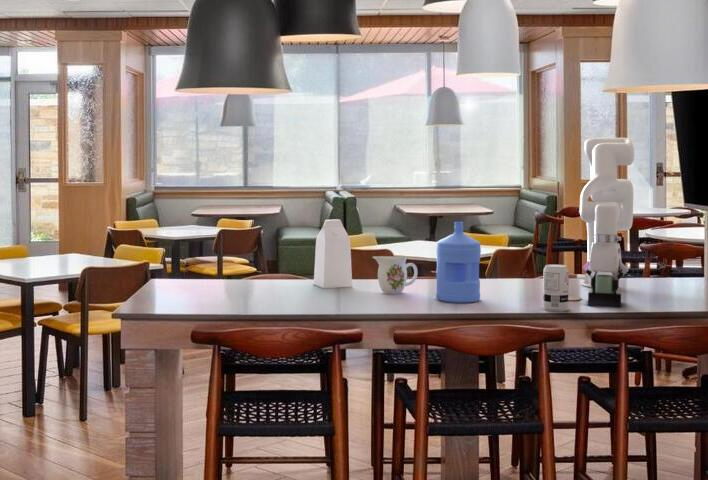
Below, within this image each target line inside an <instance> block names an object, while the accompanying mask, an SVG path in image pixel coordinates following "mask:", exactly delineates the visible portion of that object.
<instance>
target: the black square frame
mask: <svg viewBox="0 0 708 480" xmlns="http://www.w3.org/2000/svg"><path fill="white" fill-rule="evenodd" d="M587 291H588V292H587V306H588V307H604V308H622V290H621V289H617V291H615V292H614V293H599V292H595V290H592V287H588V290H587Z"/></svg>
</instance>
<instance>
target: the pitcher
mask: <svg viewBox="0 0 708 480" xmlns="http://www.w3.org/2000/svg"><path fill="white" fill-rule="evenodd" d="M372 259H374V260H375V261H376V262H377V264H378V267H377V268H378V269H377V281H378V285H379V288H380V290H381V291H382V292H383V294H387V295H398V294H402V293H403V291H404V289H405V288H406V287H408V286H411V285H413V284H414V283H415V282H416V280H417V278H418V273H419V272H418V267H417V265H416V264H415V263H414V262H408V263H407V257H405V256H396V255H395V256H394V255H391V256H390V255H389V256H388V255H379V256H377V255H375V256H372ZM409 267H412V268H413V272H414V274H413V276H412V278H411V279H410V280H409V281H407V280H408V279H407V278H408V270H407V268H409Z"/></svg>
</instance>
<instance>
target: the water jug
mask: <svg viewBox="0 0 708 480" xmlns="http://www.w3.org/2000/svg"><path fill="white" fill-rule="evenodd" d="M453 228H454V229H453V233H452V234H449V235H448V236H446V237H444V238H441V239H440V240H438V241H437V242H436V270H435V271H436V272H435V274H436V291H435V294H436V295H435V299H437V301H440V302H445V303H450V304H451V303H453V304H469V303H476V302H479V301H480V299H481V281H480V261H481V254H482V253H481V251H482V249H481V242H480V241H479V240H476V239H474V238H473V237H471V236H469V235H467V234H465V233H464V222H463V221H454V225H453Z"/></svg>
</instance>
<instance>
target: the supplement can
mask: <svg viewBox="0 0 708 480" xmlns="http://www.w3.org/2000/svg"><path fill="white" fill-rule="evenodd" d="M542 273H543V277H542V308H544V310H545V311H548V312H565V311H567V310H568V309H569V301H568V296H569V288H570V287H569V286H570V285H569V281H570V280H569V277H570V271H569V268H568V265H566V264H556V263H554V264H553V263H552V264H545V266H544V268H543V272H542Z"/></svg>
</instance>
